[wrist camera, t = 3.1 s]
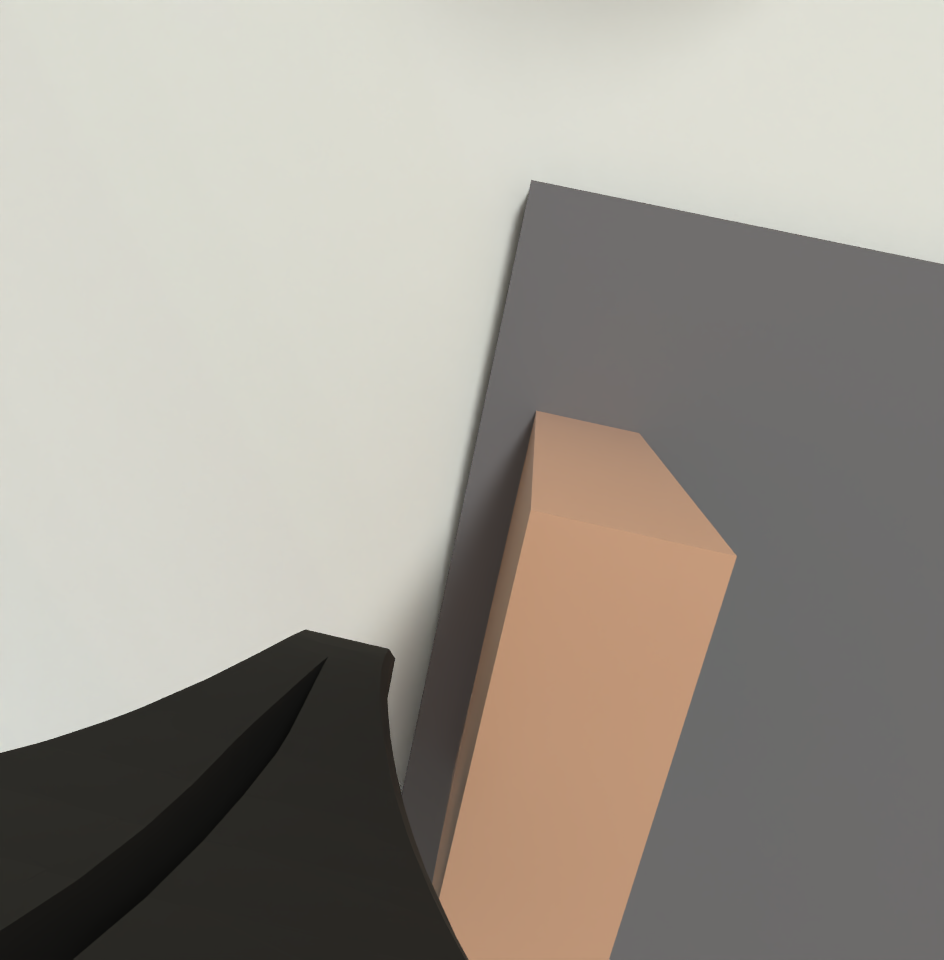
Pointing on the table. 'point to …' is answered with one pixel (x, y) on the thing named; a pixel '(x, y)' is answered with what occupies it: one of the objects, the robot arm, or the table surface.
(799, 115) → the table surface
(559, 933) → the tile
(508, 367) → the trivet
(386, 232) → the table surface
